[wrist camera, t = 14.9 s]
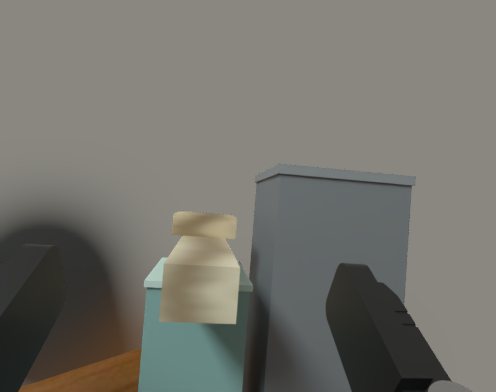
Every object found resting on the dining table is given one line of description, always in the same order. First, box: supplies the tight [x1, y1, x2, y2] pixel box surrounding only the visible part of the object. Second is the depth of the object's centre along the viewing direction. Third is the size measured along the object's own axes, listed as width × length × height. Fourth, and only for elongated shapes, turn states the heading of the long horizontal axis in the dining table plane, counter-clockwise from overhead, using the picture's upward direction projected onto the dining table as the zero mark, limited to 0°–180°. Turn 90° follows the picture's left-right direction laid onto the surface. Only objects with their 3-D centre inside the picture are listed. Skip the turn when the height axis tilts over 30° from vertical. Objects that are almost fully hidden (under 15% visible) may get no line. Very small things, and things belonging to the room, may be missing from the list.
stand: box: [242, 164, 416, 392], centre depth 35 cm, size 12×13×32 cm
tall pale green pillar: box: [138, 258, 253, 392], centre depth 30 cm, size 8×10×22 cm
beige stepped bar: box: [159, 211, 240, 324], centre depth 28 cm, size 6×22×5 cm, turn 7°
